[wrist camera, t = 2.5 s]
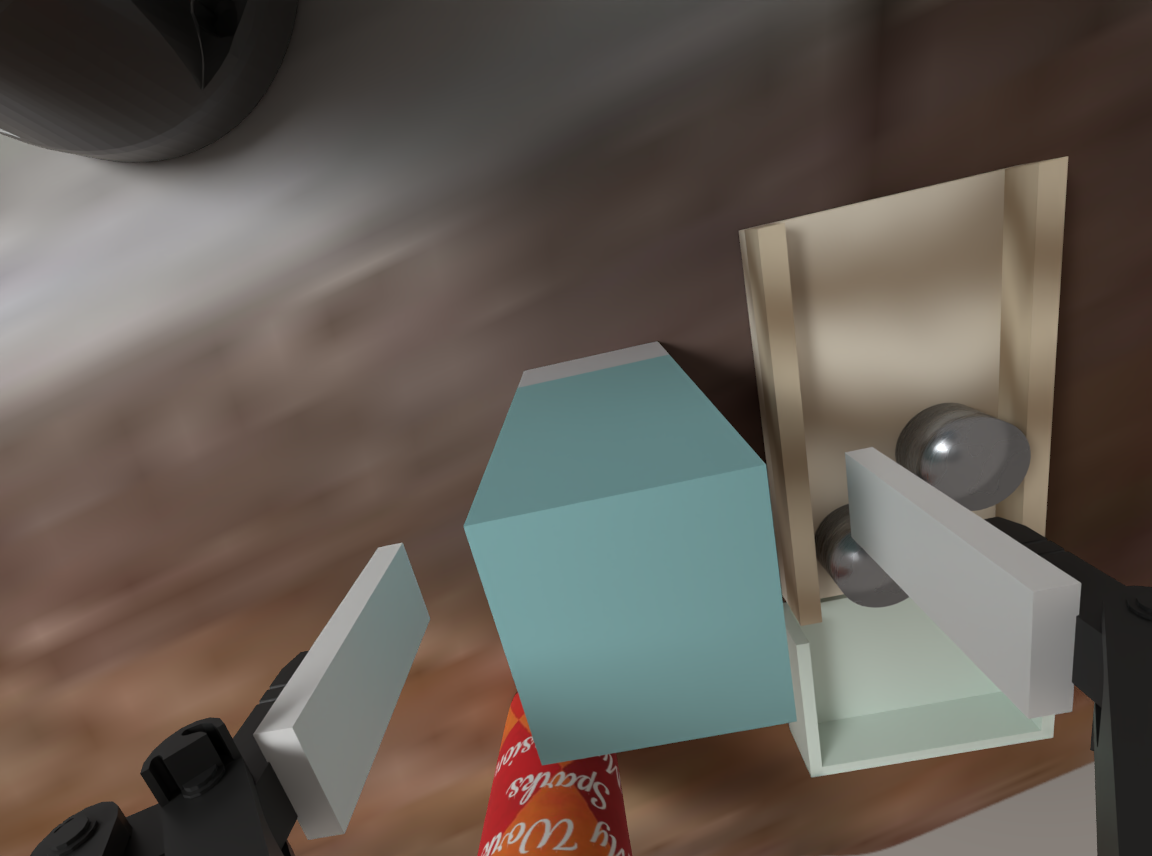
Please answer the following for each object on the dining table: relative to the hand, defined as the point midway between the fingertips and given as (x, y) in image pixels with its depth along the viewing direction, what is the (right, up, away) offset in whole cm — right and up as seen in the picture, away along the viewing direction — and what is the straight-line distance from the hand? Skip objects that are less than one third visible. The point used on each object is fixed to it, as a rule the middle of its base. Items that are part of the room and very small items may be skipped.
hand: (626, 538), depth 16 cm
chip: (+12, -2, +10) cm, 16 cm away
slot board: (+13, +4, +9) cm, 16 cm away
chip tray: (+16, -9, +13) cm, 22 cm away
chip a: (+15, +2, +8) cm, 17 cm away
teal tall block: (0, +3, +9) cm, 10 cm away
